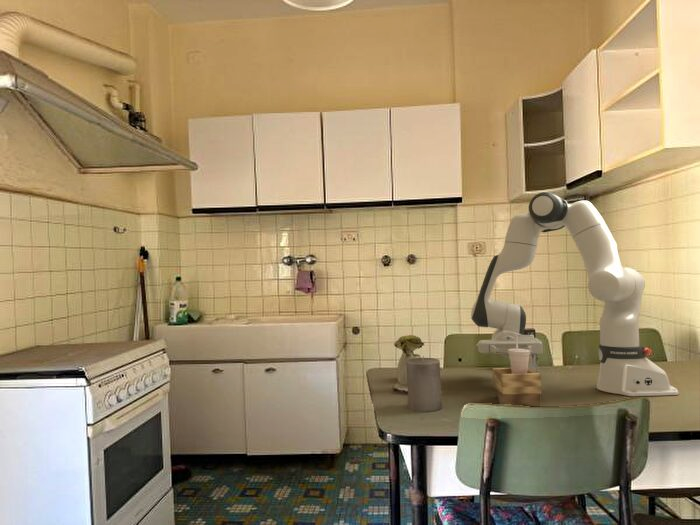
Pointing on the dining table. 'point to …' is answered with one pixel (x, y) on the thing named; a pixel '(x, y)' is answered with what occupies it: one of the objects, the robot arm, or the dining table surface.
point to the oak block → (516, 381)
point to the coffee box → (533, 357)
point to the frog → (405, 357)
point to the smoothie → (519, 359)
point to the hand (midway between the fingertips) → (512, 350)
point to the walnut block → (519, 399)
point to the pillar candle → (424, 384)
